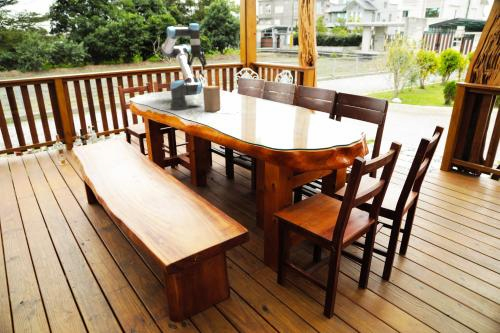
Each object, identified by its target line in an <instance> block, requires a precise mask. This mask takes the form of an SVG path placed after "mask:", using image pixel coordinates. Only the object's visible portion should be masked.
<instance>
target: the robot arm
mask: <svg viewBox="0 0 500 333" xmlns="http://www.w3.org/2000/svg"><path fill="white" fill-rule="evenodd" d="M166 34H167V37H166V39H165V42H164V43H162V45H161V48H160V50H161V53H162V55H163V56H165V57H166V58H168V59H175V61H176V62H178V63H179V67H180V69H181V71H182V74H183V77H184V79H179V80H174V81H171V82H170V86H169V87H170V88H169V89H170V95H171V102H170V105H169V106H170V110H173V111H181V110H182V111H183V110H187V109H189V104H188V101H187V100H186V96H197V95H201V93H202V90H203V87H202V81H201V80H198V78H197V77H196V76H195V75H194V68H193V65H192V64H193V61H194V59H195V58H197V59H198V60H199V62H200V64H201V66H200V67H201V75H205V69H206V67H205V66H207V65H208V63H207V60H206V59H207V58H206V56H205V52H204V51H201V38H200V36H201V34H200V25H199V23H189V26H168V27H167V28H166ZM183 37H186V38H189V40H190V48H189V47H188V45H187V44H176V41H177V40H178V38H183Z"/></svg>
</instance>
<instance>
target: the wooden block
mask: <svg viewBox="0 0 500 333" xmlns="http://www.w3.org/2000/svg"><path fill="white" fill-rule="evenodd" d="M202 90H203V107H204V108H203V109H204V110H203V111H205V112H210V113H216V112H218V111H220V110H221V93H220V92H221V91H220V86H218V85H206V86H203V87H202Z"/></svg>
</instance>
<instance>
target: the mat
mask: <svg viewBox="0 0 500 333" xmlns="http://www.w3.org/2000/svg"><path fill="white" fill-rule="evenodd" d="M240 111H241V109H229V108H220V110H219V111H215V113H216V114H226V115H227V114H230V115H235V114H237V113H239V112H240Z"/></svg>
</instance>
